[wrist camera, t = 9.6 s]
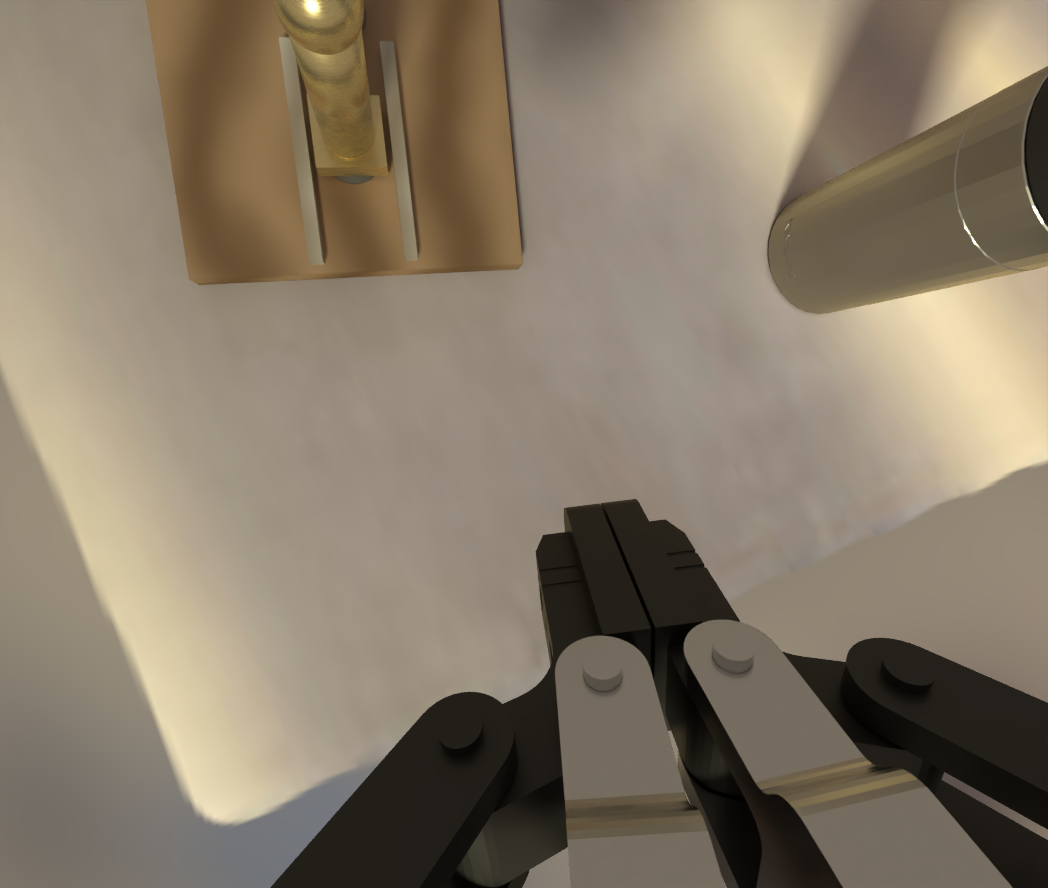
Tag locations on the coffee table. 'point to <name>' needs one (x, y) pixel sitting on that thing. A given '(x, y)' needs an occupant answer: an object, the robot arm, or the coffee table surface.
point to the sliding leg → (336, 85)
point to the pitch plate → (288, 155)
